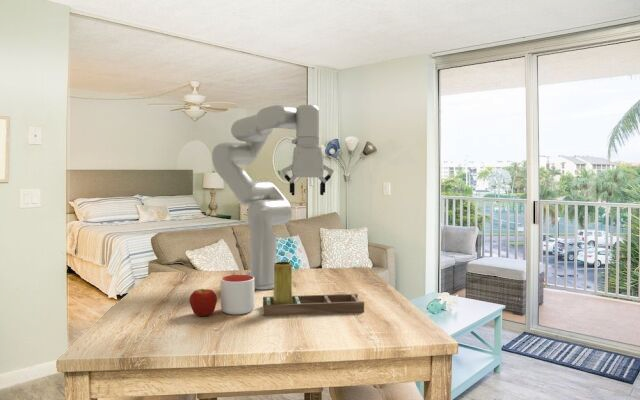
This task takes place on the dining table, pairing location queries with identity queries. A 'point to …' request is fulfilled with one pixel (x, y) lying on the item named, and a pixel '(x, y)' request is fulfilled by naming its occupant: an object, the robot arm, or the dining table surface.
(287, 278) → the vase
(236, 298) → the cup
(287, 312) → the wooden compartment tray
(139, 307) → the dining table surface
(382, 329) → the dining table surface
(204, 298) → the apple
